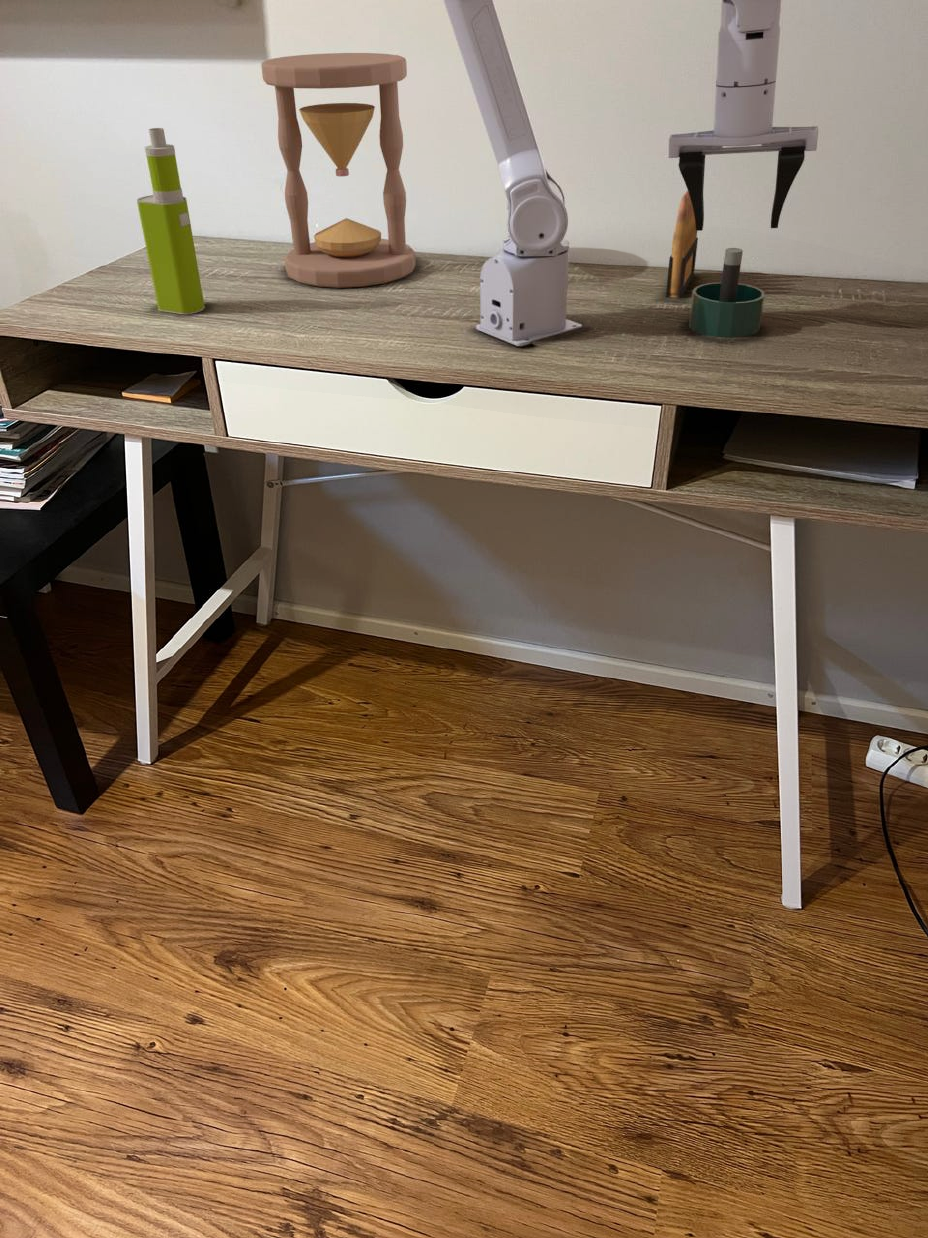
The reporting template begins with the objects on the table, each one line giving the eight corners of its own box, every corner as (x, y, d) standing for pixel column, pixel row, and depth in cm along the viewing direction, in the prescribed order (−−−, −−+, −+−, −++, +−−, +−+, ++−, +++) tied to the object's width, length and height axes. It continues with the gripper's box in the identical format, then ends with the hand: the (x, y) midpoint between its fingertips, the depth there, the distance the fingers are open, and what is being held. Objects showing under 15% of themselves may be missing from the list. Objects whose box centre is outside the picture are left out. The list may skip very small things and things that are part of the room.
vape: (191, 315, 118) (159, 132, 106) (153, 309, 120) (116, 129, 108) (211, 306, 120) (181, 127, 109) (172, 301, 122) (139, 124, 111)
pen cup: (745, 346, 105) (750, 306, 103) (677, 334, 109) (681, 296, 106) (768, 325, 110) (774, 288, 108) (703, 315, 114) (707, 278, 111)
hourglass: (263, 283, 128) (234, 65, 114) (318, 249, 142) (298, 51, 128) (389, 292, 124) (375, 67, 109) (432, 256, 137) (425, 52, 123)
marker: (724, 329, 108) (735, 252, 103) (712, 325, 109) (722, 249, 105) (735, 325, 109) (746, 249, 104) (723, 321, 110) (733, 246, 106)
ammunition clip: (680, 301, 118) (691, 196, 111) (664, 300, 119) (675, 195, 112) (693, 277, 126) (705, 178, 120) (679, 276, 127) (689, 177, 120)
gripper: (821, 72, 97) (807, 215, 105) (674, 82, 101) (670, 220, 109) (824, 81, 92) (809, 232, 100) (668, 92, 96) (664, 236, 103)
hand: (736, 227), depth 104 cm, fingers open, 7 cm apart
